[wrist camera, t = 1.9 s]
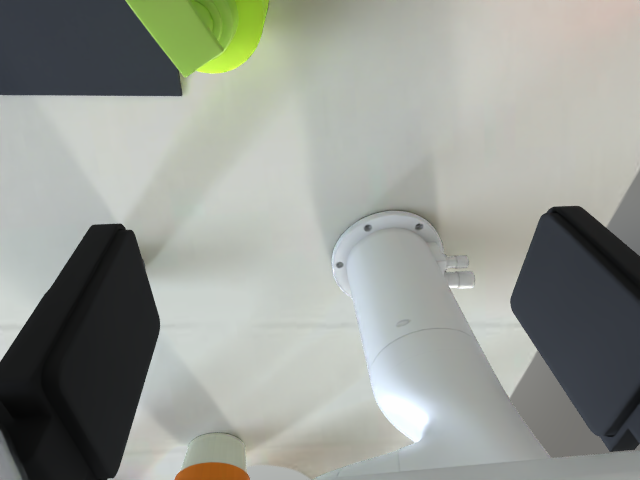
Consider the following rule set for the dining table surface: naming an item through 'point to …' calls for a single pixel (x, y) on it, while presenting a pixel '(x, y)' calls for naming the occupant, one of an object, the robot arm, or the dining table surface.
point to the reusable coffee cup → (214, 459)
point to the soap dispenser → (204, 31)
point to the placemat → (80, 50)
